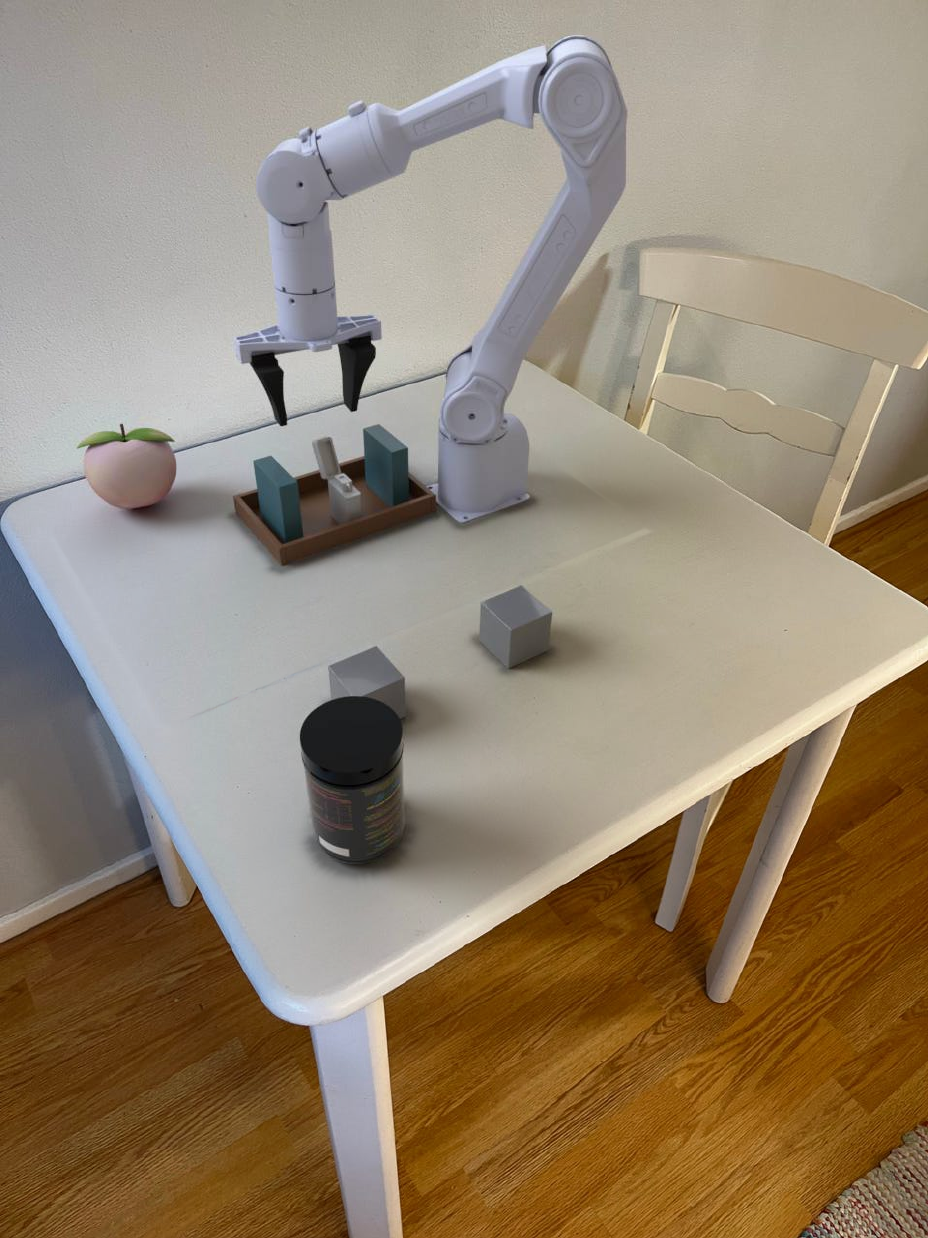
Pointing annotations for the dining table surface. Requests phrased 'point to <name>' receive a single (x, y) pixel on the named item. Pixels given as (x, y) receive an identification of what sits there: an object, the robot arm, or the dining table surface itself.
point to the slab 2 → (386, 465)
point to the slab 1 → (278, 499)
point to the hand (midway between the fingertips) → (316, 414)
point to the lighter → (337, 483)
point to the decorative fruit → (130, 466)
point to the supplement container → (354, 778)
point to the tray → (317, 516)
